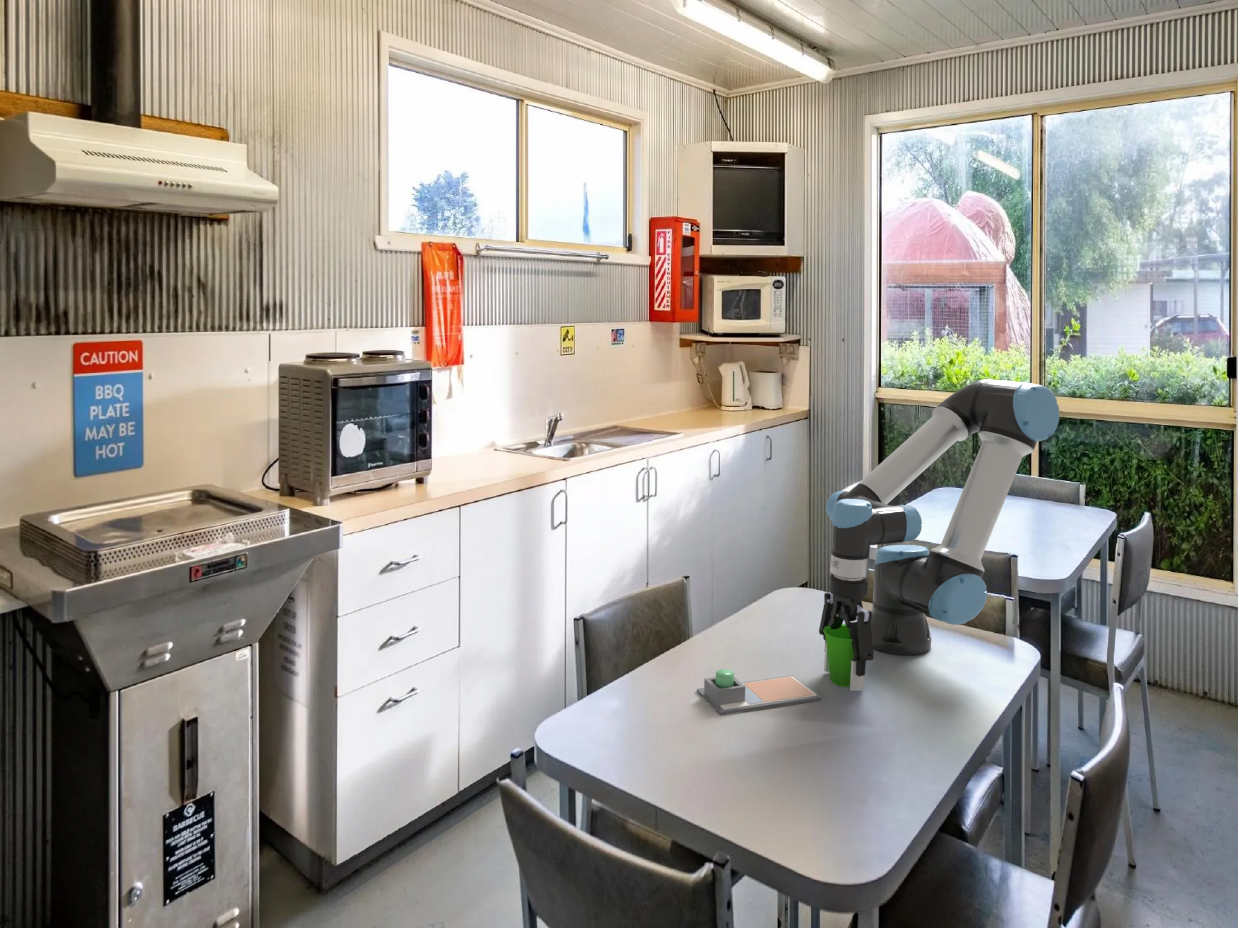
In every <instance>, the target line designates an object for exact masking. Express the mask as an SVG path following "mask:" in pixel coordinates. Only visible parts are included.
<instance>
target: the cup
mask: <svg viewBox="0 0 1238 928" xmlns="http://www.w3.org/2000/svg"><path fill="white" fill-rule="evenodd" d="M823 632H824V633H825V637H826V645H827V654H828V663H829V679H830V682H831V683H832V684H833V685H835V686H838V687H843V688H844V687H845V688H847V687H849V688H850V679H851V661H852V659H853V658H854V653H853V648H852V644H851V643H852V641H853V639H850V634H849V629H848V627H846V625H845V623H842V626H841V627H840V628H838V629H831V627H830V625H829V626H827V627H825V628H824V630H823Z"/></svg>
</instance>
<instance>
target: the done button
mask: <svg viewBox="0 0 1238 928" xmlns="http://www.w3.org/2000/svg"><path fill="white" fill-rule="evenodd" d="M715 677H716V684H715V685H716V686H717V687H718V688H719V689H720V688H727V687H734V677H735V672H734V671H732V670H730V669H725V668H724V669H723V668H722V669H718V670H716V671H715Z"/></svg>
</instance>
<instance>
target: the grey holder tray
mask: <svg viewBox="0 0 1238 928" xmlns="http://www.w3.org/2000/svg"><path fill="white" fill-rule="evenodd" d="M703 681H704V685H703V687H701V688H696V693H697V694H698V695H699V696H700V697H701V698H702V699H703V700H704V701H705V702H706V703H708V705H709V706H710V707H711V708H712V709H713V710H714V711H715V712H716V713H717V714H718V715H719V716H724V715H730V714H735V713H736V714H737V713H741V712H742V713H743V712H748V711H749V712H750V711H756V710H762V709H768V708H769V709H770V708H775V707H782V706H789V705H793V704H794V705H796V704H801V703H807V702H815V701H820V700H821V699H822V696H820V694H818V693H817V692H815V691H814V690H813V689H812V688H811V687H809V686H807V685H806V684H805V683H803V681H801V680H800V679H799V678H797V677H796V676H794V675H793V674H792V675H785V676H779V677H771V678H765V679H757V680H750V681H743V682H740V680H738V679H737V678H736V677H735V676H734V687H727V688H720V689H719V688H718V687H717V686H716V685H715V684H716V676H714V677H708V678H704V680H703Z"/></svg>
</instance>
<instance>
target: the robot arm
mask: <svg viewBox="0 0 1238 928" xmlns="http://www.w3.org/2000/svg"><path fill="white" fill-rule="evenodd" d="M1057 400H1058V399H1057V397H1056V396H1055V394H1054V393H1053V392H1052V390H1050V389H1049V388H1048V387H1047V386H1044V385H1041V384H1036V383H1032V382H1029V381H1025V382H1024V381H1023V382H1021V381H1011V380H999V379H993V378H988V379H987V378H986V379H982V380H981V379H980V380H977V381H974V382H972V383H969V384H967V385H965V386H963V387H961V388H959V389H958V390H957V391H955V392H954V393H952V394H951V395H949V396H948V397H946V398H945V399H944V400H943V401H941V403H939V404H937V406H936V407H935V408H934V409H933V410H932V413H931V416H932V417H930V418H929V419H928V420H927V421H926V422H925V423H924V424H923V425H921V427H919V428H918V429H917V430H916V431H915V432H914V433H913V434H912V435H910V436H909V437H908V438H907V439H906V440H904V442H903V443H901V444H900V446H897V448H896V449H895V450H893V452H892V453H890V455H888V456H887V457H886V458H885V459H884V460H883V461H882V462H880V463H879V464H878V465H877V466H876V467H875V468H874V469H873V470H872V471H870V472H869V473H868V474H867V475H866V476H865V477H863V479H861V481H859V482H858V483H857V484H856V485H855V486H854V487H852V488H851V490H849V491H847V490H840V491H839V490H838V491H836V492H834V493H832V494H831V495H830V497H828V499H827V502H826V506H825V511H826V515H827V517H828V519H829V520H830V521H831V525H832V527H831V549H830V550H831V557H830V570H829V571H830V573H831V575H829V586H828V587H829V588H828V591H829V592H828V591H827V592H824V593H823V594H824V595H823V597H824V598H823V599H824V600H823V608H822V613H821V618H820V623H819V629H818V633H819V635H820V636H821V635H822V636H823V637H822V638H823V641H824V661H823V662H824V666H823V671H824V672H825V673H828V672H829V663H828V654H827V645H826V637H825V633H824V632H823V630H824V628H825V627H827V626H829V625H830V627H831V629H838V628H840V627H841V626H842V624H845V625H846V627H848V629H849V634H850V639H853V641H852V643H851V644H852V648H853V653H854V658H853V659H852V661H851V679H850V687H849V690H851V691H860V690H864V686H865V675H866V665H867V661H873V660H874V658H875V656H874V649H875V650H876V651H880V652H884V653H886V654H893V655H902V656H907V655H908V656H910V655H920V654H924V653H927V652H929V650H931V647H932V635H931V630H930V627H929V624H928V620H927V617H926V616H929V617H931V618H932V619H934V620H936V621H939V622H942V623H946V624H948V625H952V626H958V625H960V626H961V625H964V624H967V622H969V621H972V620H973V619H974V618H976V617H977V616H978V615H979V614H980V613H981V611H982V610H983V608H984V606H985V604H986V602H987V596H988V591H987V588H988V587H987V584H986V582H985V581H984V580H983V579H982V577H983V575H984V573H985V568H984V566H983V564H982V559H983V555H984V553H985V550H986V548H987V545H988V543H989V541H990V537H991V536H992V533H993V530H994V528H995V526H996V524H997V521H998V518H999V516H1000V514H1001V512H1002V511H1001V510H1002V509H1003V507H1004V503H1005V502H1006V498H1007V496H1008V494H1009V491H1010V488H1011V487H1012V485H1013V481H1014V479H1015V476H1016V474H1017V471H1018V469H1019V467H1020V464H1021V462H1022V459H1023V457H1025V456H1027V455H1030V454H1031V453H1033V452H1034V451H1035V448H1036V445H1037V443H1038V442H1042V441H1045V440H1047V439H1048V438H1049V437H1051V436H1053V434H1054V433H1055V432H1056V430H1057V428H1058V424H1059V421H1060V407H1059V404H1058V401H1057ZM974 433H977V435H978V437H979V439H980V441H981V445H980V447H979V450H978V453H977V455H976V457H975V459H974V461H973V465H972V466H971V470H970V471H969V473H968V477H967V480H966V481H965V484H964V487H963V489H962V492H961V494H960V497H959V499H958V501H957V503H956V506H955V509H954V512H953V514H952V516H951V519H950V521H949V524H948V526H947V529H946V531H945V534H944V536H943V538H942V540H941V543H940V544H939V546H936V547H934V548H931V549H930V550H929V548H928V547H927V546H923V545H915V544H902V543H905V542H910V541H914V540H916V539H918V537H919V536H920V535H921V532H922V527H923V526H922V524H923V521H922V516H921V514H920V513H919V511H918V510H917V508H916V507H914V506H912V505H905V504H904V505H903V504H898V505H890V504H889V503H890V502H892V500H894V498H895V497H897V496H898V495H899V494H901V492H902V491H903V490H904V489H906V487H908V486H909V485H910V484H911V483H912V482H913V481H914V480H915V479H917V478H918V477H919V476H920V475H921V474H922V473H923V472H925V470H927V468H929V467H930V466H931V465H932V464H933V463H934V462H935V461H936V460H938V458H939V457H940V456H942V455H943V454H944V453H945V452H946V451H947V450H949V448H951V447H952V446H953V445H954V444H955V443H956V442H962V441H965V440H966V439H967V438H969V437H970V436H971V435H973V434H974ZM898 543H900V544H898ZM888 544H890V545H888ZM891 544H892V545H891ZM878 545H885V546H881V547H879V549H878V550H876V553H875V554H876V555H875V561H874V564H873V565H874V571H873V572H874V573H873V591H872V592H873V594H872V609H871V610H866V609H865V608H864V606H863V599H864V598H865V597H866V596H867V595H868V586H869V585H868V584H869V579H868V575H869V569H870V552H871V546H878ZM843 622H844V623H843ZM829 673H830V672H829Z"/></svg>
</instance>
